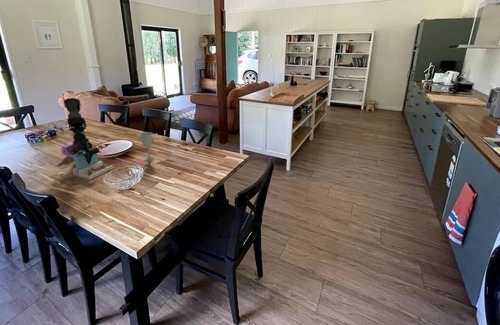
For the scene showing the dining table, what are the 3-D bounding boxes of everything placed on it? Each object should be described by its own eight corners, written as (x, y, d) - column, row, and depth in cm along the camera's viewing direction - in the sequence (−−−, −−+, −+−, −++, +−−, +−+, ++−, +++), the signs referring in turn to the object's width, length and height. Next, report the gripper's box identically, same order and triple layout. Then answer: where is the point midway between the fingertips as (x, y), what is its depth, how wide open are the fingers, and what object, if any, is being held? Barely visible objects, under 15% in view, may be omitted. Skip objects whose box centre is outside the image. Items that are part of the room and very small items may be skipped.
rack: (74, 176, 156) (72, 169, 154) (96, 166, 169) (95, 159, 167) (91, 180, 151) (89, 173, 150) (113, 169, 164) (111, 163, 162)
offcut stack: (88, 175, 155) (86, 169, 154) (103, 168, 163) (101, 163, 162) (94, 176, 153) (92, 170, 152) (108, 169, 162) (107, 164, 160)
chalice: (143, 162, 174) (139, 135, 167) (144, 158, 180) (140, 132, 173) (155, 161, 176) (151, 134, 168) (156, 157, 182) (152, 131, 174)
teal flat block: (78, 173, 157) (72, 156, 152) (95, 165, 167) (91, 149, 162) (81, 174, 156) (76, 157, 151) (99, 166, 166) (95, 149, 161)
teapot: (98, 152, 191) (95, 137, 186) (70, 162, 175) (65, 146, 170) (87, 149, 197) (83, 134, 192) (58, 158, 181) (53, 143, 176)
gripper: (55, 140, 150) (63, 166, 156) (78, 144, 143) (86, 171, 149) (74, 134, 159) (80, 159, 165) (97, 138, 152) (103, 163, 159)
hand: (87, 163), depth 159 cm, fingers closed on teal flat block, 3 cm apart
